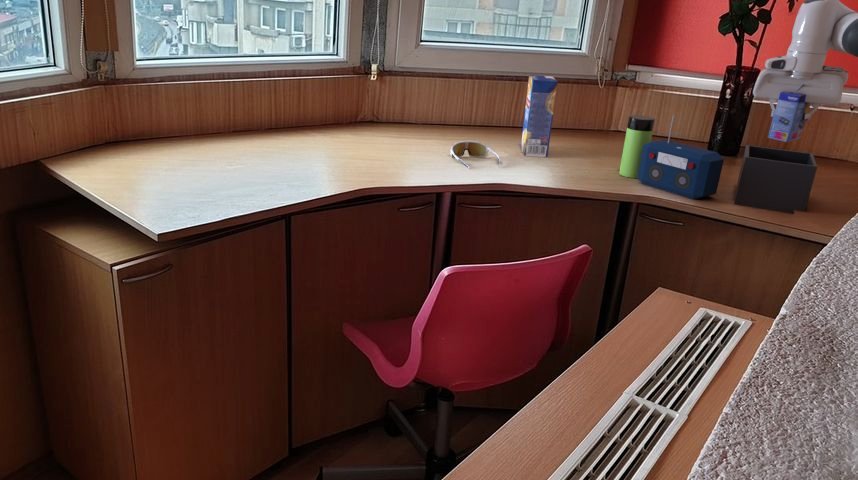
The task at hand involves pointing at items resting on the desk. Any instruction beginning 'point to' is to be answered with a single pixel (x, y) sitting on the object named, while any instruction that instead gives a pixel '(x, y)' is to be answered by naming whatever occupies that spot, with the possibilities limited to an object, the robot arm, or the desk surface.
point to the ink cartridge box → (789, 117)
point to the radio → (680, 168)
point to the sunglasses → (470, 150)
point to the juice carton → (538, 115)
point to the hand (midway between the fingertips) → (789, 118)
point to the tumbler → (635, 143)
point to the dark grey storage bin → (775, 179)
